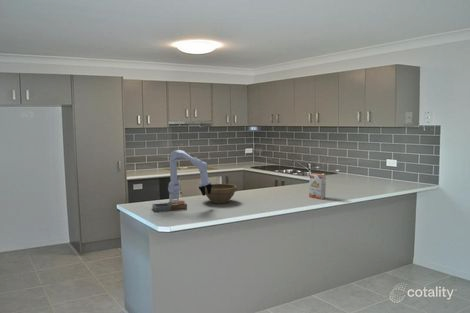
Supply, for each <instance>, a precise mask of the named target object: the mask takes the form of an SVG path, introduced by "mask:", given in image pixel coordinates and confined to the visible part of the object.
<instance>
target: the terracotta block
mask: <svg viewBox="0 0 470 313" xmlns="http://www.w3.org/2000/svg"><path fill="white" fill-rule="evenodd" d="M184 202H185V200H184V199H179V200H178V204H184Z"/></svg>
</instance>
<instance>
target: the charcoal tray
mask: <svg viewBox="0 0 470 313" xmlns="http://www.w3.org/2000/svg"><path fill="white" fill-rule="evenodd" d="M152 210H153V211H154V212H155V213H157V212H160V211H161V212H169V211H170V212H171V211H172V210H171V205H170V204H168V202H162V203H161V202H160V203H152Z"/></svg>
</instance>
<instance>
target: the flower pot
mask: <svg viewBox="0 0 470 313" xmlns="http://www.w3.org/2000/svg"><path fill="white" fill-rule="evenodd" d="M211 184H212V188H211V194H208V192H207V188H205V196H206V197H207V198H208V200H209V201H210V202H211V203H214V204H225V203H228V202H229V201H230V200H231V199H232V197H233V196H234V195H235V193H236V192H237V191H238V187H237V185H236V184H232V183H231V184H230V183H211ZM204 187H206V186H204Z"/></svg>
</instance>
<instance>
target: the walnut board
mask: <svg viewBox="0 0 470 313" xmlns="http://www.w3.org/2000/svg"><path fill="white" fill-rule="evenodd" d="M167 203H168V204H170V205H171V211H184V210H188V204H187V203H186V202H185V201H184V204H178V203H172V202H169V201H168V202H167Z"/></svg>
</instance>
